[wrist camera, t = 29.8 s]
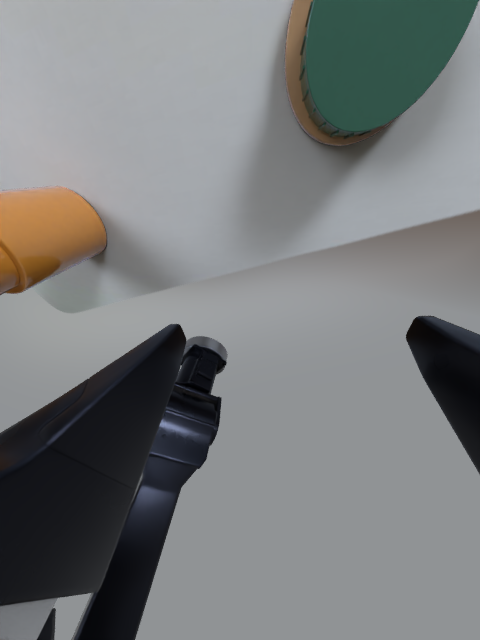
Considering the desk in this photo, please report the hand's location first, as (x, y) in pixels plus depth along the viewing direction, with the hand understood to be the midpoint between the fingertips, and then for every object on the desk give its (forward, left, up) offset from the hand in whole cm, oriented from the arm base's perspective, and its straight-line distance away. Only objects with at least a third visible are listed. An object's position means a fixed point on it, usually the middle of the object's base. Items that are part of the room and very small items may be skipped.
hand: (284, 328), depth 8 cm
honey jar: (-11, +16, -12) cm, 23 cm away
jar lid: (+10, +3, -9) cm, 14 cm away
